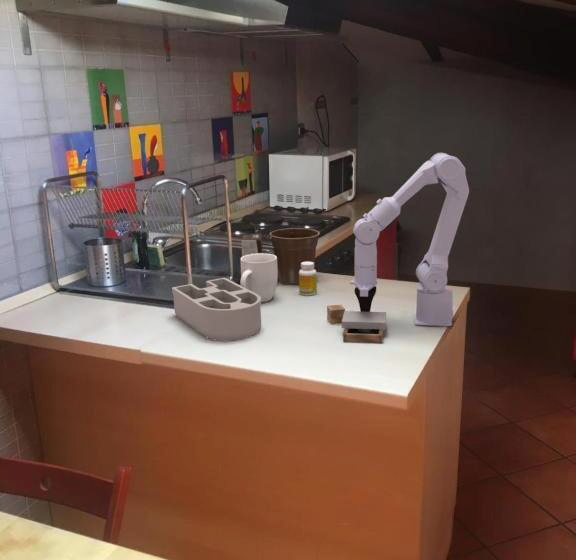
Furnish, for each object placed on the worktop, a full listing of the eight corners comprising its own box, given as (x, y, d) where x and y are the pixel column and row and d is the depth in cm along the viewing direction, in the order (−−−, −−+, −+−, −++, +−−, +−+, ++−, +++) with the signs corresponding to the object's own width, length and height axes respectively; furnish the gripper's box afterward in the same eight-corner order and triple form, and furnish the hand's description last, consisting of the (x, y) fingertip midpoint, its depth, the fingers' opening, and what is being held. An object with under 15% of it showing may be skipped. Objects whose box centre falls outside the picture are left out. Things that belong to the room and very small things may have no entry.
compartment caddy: (226, 305, 189) (224, 277, 187) (273, 333, 166) (272, 301, 164) (173, 316, 181) (171, 287, 179) (215, 347, 158) (213, 314, 156)
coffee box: (263, 288, 204) (260, 239, 199) (242, 289, 204) (240, 239, 199) (264, 280, 212) (262, 233, 208) (245, 280, 213) (242, 233, 208)
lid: (386, 318, 168) (386, 312, 167) (385, 329, 160) (385, 322, 160) (344, 317, 169) (344, 311, 169) (341, 328, 162) (341, 321, 161)
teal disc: (370, 328, 167) (370, 323, 167) (370, 333, 164) (370, 327, 164) (358, 328, 168) (358, 323, 167) (357, 332, 165) (357, 327, 164)
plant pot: (318, 272, 220) (317, 226, 215) (322, 286, 204) (321, 237, 199) (271, 274, 219) (269, 228, 215) (271, 288, 204) (269, 239, 199)
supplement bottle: (315, 296, 194) (314, 265, 192) (298, 295, 195) (297, 265, 193) (318, 290, 199) (317, 260, 197) (301, 290, 200) (300, 260, 198)
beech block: (341, 318, 175) (341, 304, 174) (345, 323, 171) (345, 309, 170) (327, 319, 174) (327, 305, 173) (330, 324, 171) (330, 310, 170)
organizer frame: (383, 323, 170) (383, 316, 169) (382, 343, 157) (382, 335, 156) (347, 322, 171) (347, 315, 171) (343, 341, 158) (343, 334, 158)
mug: (259, 311, 183) (257, 267, 179) (227, 305, 188) (225, 263, 184) (285, 296, 195) (283, 255, 191) (254, 292, 200) (253, 251, 197)
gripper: (352, 257, 173) (352, 304, 177) (347, 272, 160) (348, 323, 164) (378, 258, 172) (378, 305, 176) (376, 272, 158) (375, 323, 162)
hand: (365, 314), depth 170 cm, fingers closed
